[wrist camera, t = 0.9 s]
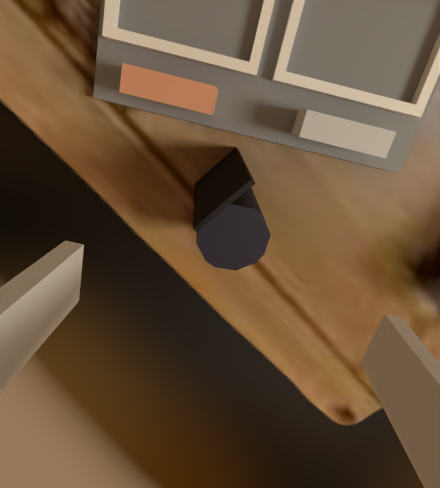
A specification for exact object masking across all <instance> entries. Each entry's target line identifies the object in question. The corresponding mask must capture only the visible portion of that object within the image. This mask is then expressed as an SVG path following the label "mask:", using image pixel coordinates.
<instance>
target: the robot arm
mask: <svg viewBox="0 0 440 488" xmlns="http://www.w3.org/2000/svg"><path fill="white" fill-rule="evenodd" d="M83 248H84V245H82V244H78V243H74V242H69V241H64V242H63V243H62V244H60V245H59V246H57V247H56V248H55V249H53V250H52V251H50V252H49V253H48V254H46V255H45V256H44V257H42V258H41V259H39V260H38V261H37V262H35V263H34V264H32V265H31V266H30V267H28V268H27V269H26V270H24V271H23V272H21V273H20V274H19V275H17V276H16V277H15V278H13V279H12V280H10V281H9V282H8V283H6V284H5V285H3V286H2V287H1V288H0V393H1V391H2V390H3V389H4V388H5V387H6V385H7V384H8V383H9V382H10V381H11V380H12V379H13V377H14V376H15V375H16V374H17V373H18V372H19V370H20V369H21V368H22V367H23V366H24V365H25V363H26V362H27V361H28V360H29V359H30V358H31V356H32V355H33V354H34V352H36V350H37V349H38V348H39V347H40V346H41V345H42V343H43V342H44V341H45V340H46V339H47V338H48V336H49V335H50V334H51V333H52V332H53V331H54V329H55V328H56V327H57V326H58V325H59V324H60V322H61V321H62V320H63V319H64V318H65V317H66V315H67V314H68V313H69V312H70V311H71V309H72V308H73V307H74V306H75V305H76V304H77V302H78V301H79V293H80V281H81V269H82V259H83ZM361 365H362V367H363V369H364V371H365V373H366V375H367V377H368V379H369V381H370V383H371V385H372V387H373V389H374V390H375V392H376V394H377V396H378V398H379V400H380V402H381V404H382V406H383V408H384V410H385V412H386V414H387V416H388V418H389V420H390V422H391V423H392V425H393V427H394V429H395V431H396V433H397V435H398V437H399V439H400V441H401V443H402V445H403V447H404V449H405V451H406V453H407V455H408V457H409V459H410V461H411V463H412V465H413V466H414V468H415V470H416V472H417V474H418V476H419V478H420V480H421V482H422V484H423V486H424V488H440V363H439V362H438V361H437V359H436V358H435V357H434V356H433V355H432V353H431V352H430V351H429V350H428V349H427V347H426V346H425V345H424V344H423V343H422V341H421V340H420V339H419V338H418V337H417V335H416V334H415V333H414V332H413V331H412V329H411V328H410V327H409V326H408V325H407V323H406V322H405V321H404V320H403V319H402V318H401V317H397V316H392V315H388V314H384V316H383V318H382V320H381V322H380V325H379V327H378V329H377V331H376V333H375V335H374V337H373V339H372V341H371V343H370V345H369V347H368V349H367V351H366V353H365V356H364V358H363V360H362V362H361Z"/></svg>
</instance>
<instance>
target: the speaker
mask: <svg viewBox="0 0 440 488" xmlns="http://www.w3.org/2000/svg"><path fill="white" fill-rule="evenodd" d="M254 184H255V182H254V180H253V178H252V176H251V174H250V172H249V170H248V168H247V166H246V164H245V162H244V160H243V158H242V156H241V154H240V152H239V150H238V149H237V148H235V149H233V150H232V151H231V152H230V153H229V154H228V155H227V156H226V157H224V158H223V159H222V160H221V161H220V162H219V163H218V164H216V165H215V166H214V167H213V168H212V169H211V170H210V171H209V172H207V173H206V174H205V175H204V176H203V177H202V178H201V179H200V180H198V181H197V182H196V183H195V188H194V214H193V229H194V230H195V231H196V232H197V245H198V247H199V249H200V251H201V253H202V254H203V256H204V258H205V260H206V261H207V262H208V263H210V264H211V265H213V266H214V267H219V268H225V269H231V270H238V269H241V268H243V267H246V266H248V265H251V264H253V263H256V262H257V261H258V260H259V259H260V258H261V257H262V256H263V255H264V253H265V250H266V247H267V244H268V241H269V238H270V233H269V230H268V227H267V225H266V222H265V220H264V217H263V215H262V212H261V210H260V207H259V205H258V203H257V200H256V198H255V195H254V193H253V191H252V188H251V187H252V186H253V185H254Z"/></svg>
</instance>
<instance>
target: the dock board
mask: <svg viewBox="0 0 440 488" xmlns="http://www.w3.org/2000/svg"><path fill="white" fill-rule="evenodd" d="M439 80H440V0H101V8H100V20H99V33H98V45H97V57H96V69H95V81H94V93H93V98H97V99H101V100H105V101H109V102H113V103H117V104H121V105H125V106H129V107H133V108H137V109H141V110H145V111H149V112H153V113H157V114H161V115H165V116H169V117H173V118H177V119H182V120H186V121H190V122H194V123H198V124H202V125H206V126H210V127H214V128H218V129H222V130H226V131H230V132H234V133H238V134H242V135H246V136H250V137H254V138H258V139H262V140H266V141H270V142H275V143H279V144H283V145H287V146H291V147H295V148H299V149H303V150H307V151H311V152H315V153H319V154H323V155H327V156H331V157H335V158H339V159H343V160H347V161H351V162H355V163H359V164H364V165H368V166H372V167H376V168H380V169H384V170H388V171H392V172H396V173H400V171H401V169H402V166H403V164H404V162H405V159H406V157H407V155H408V152H409V150H410V148H411V145H412V143H413V141H414V138H415V136H416V134H417V131H418V129H419V127H420V124H421V122H422V120H423V117H424V115H425V113H426V110H427V108H428V105H429V103H430V101H431V98H432V96H433V94H434V91H435V89H436V87H437V84H438V82H439Z"/></svg>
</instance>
